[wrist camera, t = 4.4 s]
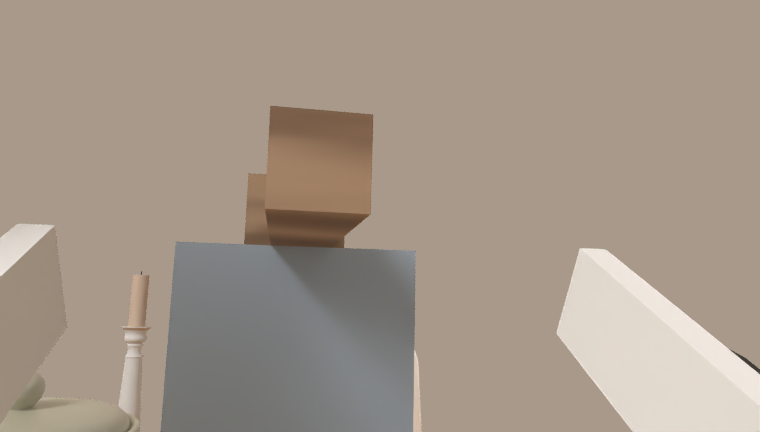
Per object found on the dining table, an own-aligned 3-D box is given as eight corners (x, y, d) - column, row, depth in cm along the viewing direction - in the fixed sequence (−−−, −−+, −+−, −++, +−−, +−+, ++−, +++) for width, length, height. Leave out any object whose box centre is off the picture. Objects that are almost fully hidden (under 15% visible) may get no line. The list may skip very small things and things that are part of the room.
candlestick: (32, 530, 61) (61, 268, 65) (113, 491, 73) (133, 272, 77) (128, 546, 57) (151, 269, 62) (195, 502, 70) (211, 274, 74)
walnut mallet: (436, 217, 16) (438, 28, 17) (189, 204, 14) (205, 0, 15) (333, 265, 45) (336, 196, 46) (248, 263, 44) (253, 191, 44)
